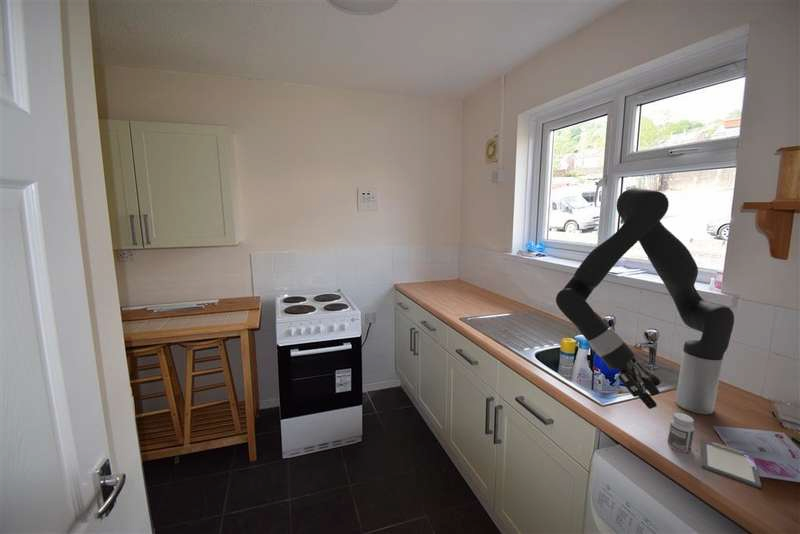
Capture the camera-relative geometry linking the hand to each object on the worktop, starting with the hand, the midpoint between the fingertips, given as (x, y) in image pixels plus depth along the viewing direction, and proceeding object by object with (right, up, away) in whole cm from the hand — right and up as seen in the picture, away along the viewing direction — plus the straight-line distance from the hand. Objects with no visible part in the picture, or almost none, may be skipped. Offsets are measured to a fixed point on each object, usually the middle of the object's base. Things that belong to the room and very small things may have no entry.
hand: (654, 400), depth 94 cm
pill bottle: (+5, -11, -2) cm, 12 cm away
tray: (+12, -12, -8) cm, 19 cm away
